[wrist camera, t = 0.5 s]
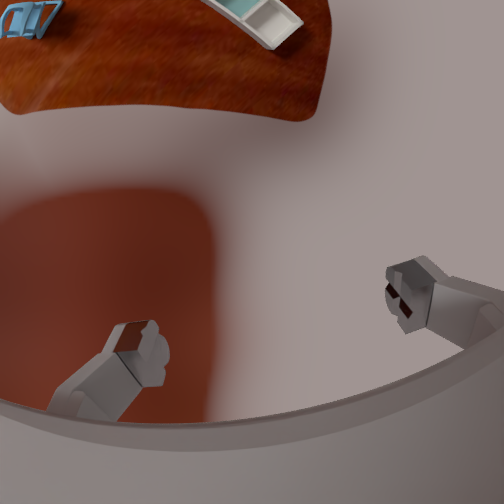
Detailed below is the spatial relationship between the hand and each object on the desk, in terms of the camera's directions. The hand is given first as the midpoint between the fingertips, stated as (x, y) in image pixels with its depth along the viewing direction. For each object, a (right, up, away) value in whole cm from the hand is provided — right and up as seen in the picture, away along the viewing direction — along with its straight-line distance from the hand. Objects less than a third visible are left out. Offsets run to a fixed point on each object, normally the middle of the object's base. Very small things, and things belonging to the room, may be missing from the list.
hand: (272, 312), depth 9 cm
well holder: (-4, +47, +23) cm, 52 cm away
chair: (-40, +45, +13) cm, 62 cm away
